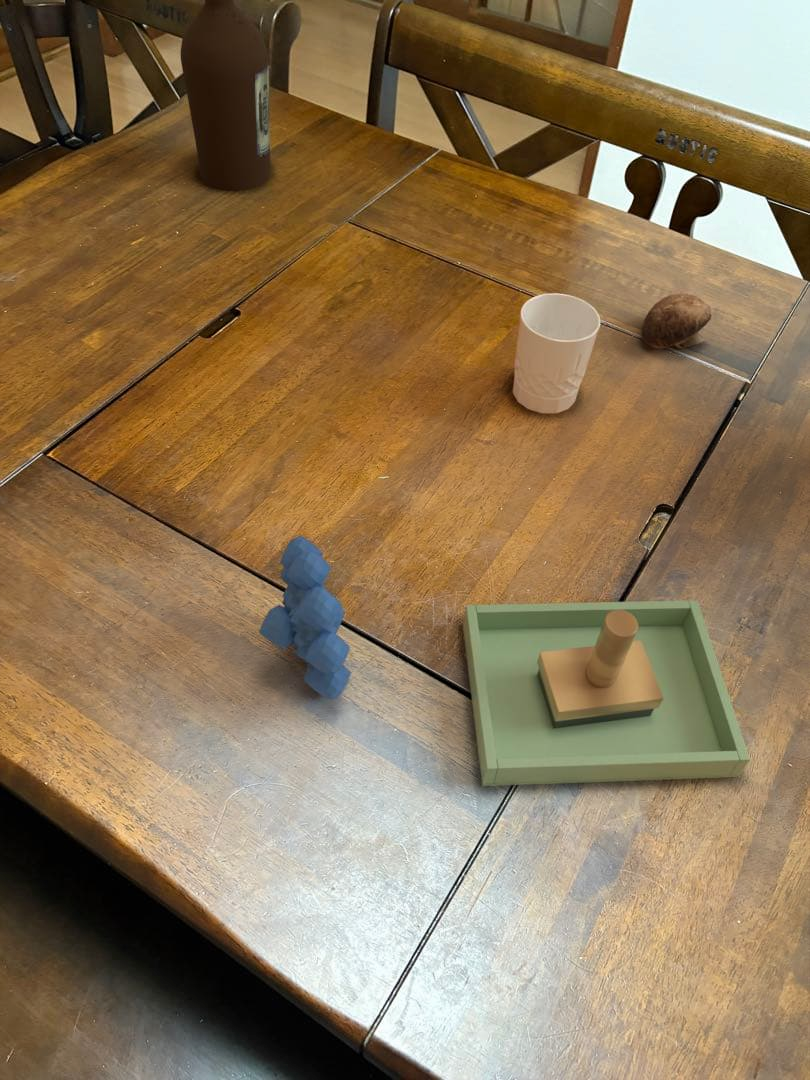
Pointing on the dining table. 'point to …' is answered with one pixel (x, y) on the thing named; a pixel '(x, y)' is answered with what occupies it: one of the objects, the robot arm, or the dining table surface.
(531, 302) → the white cup
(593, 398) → the dining table surface
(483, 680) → the tray
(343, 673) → the grapes
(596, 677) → the brush
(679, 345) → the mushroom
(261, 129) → the olive oil
